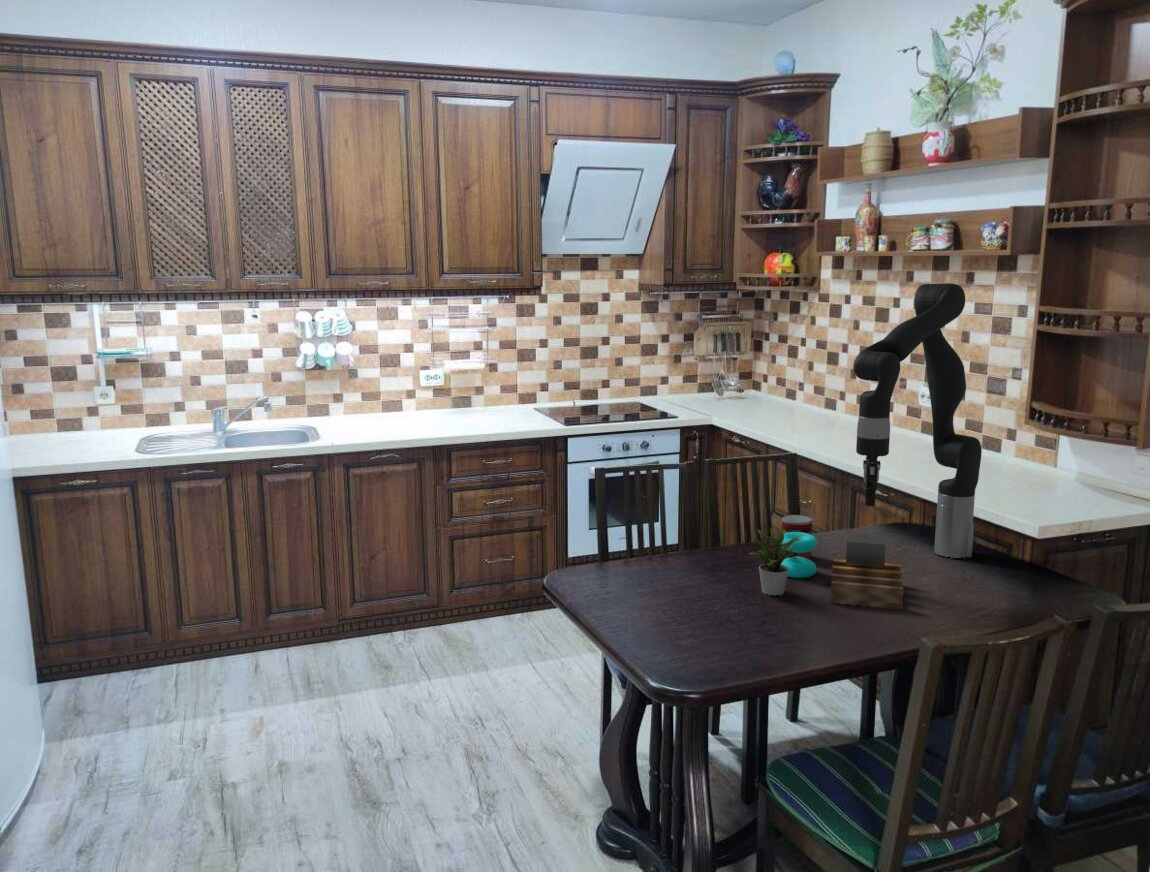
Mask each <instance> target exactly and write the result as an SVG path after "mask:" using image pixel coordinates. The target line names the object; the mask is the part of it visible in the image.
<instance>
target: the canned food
mask: <svg viewBox="0 0 1150 872" xmlns="http://www.w3.org/2000/svg"><path fill="white" fill-rule="evenodd" d="M782 528H783V531H784V530H785V533H788V532H803V533H808V534H811V535H813V531H812V530H813V519H812V517H809V516H806V515H799V514H790V515H788V514H787V515H785V516H783V517H782V518H781V529H782ZM781 550H782V548H780V551H781ZM787 552H789V551H786V552H785V553H784V554H786V553H787ZM792 553H794V554H793V555H790V556H792V557H803V558H807V559H809V560H811V557H812V556H811V555H812V551H810V552H805V553H795V552H792ZM781 555H782V554H781Z"/></svg>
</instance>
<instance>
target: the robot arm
mask: <svg viewBox="0 0 1150 872" xmlns="http://www.w3.org/2000/svg"><path fill="white" fill-rule="evenodd" d="M913 305H914V312H915V316H914V317H911V318H908V319H907V320H905V321H903V322H901V323H900V324H898V325H896V326H895V327H894V328H893V329H892V330H891V331H890V332H889V333H888V334H887V335H886V336H885V337H884V338H883V339H881V340H878V341H877V342H874V343H872V344H871V345H869V346H867V347H865V348H864V349H862V350H861V351H860V352H859V353H858V354H857V355H856V357H855V359H854V361H853V365H852V366H853V368H852V369H853V373H854V375H855V376H856V378H858V379H859V380H862V381H868V382H877V385H876V387H875V389H872V390H866V391H863V392H862V393H860V396H859V408H858V420H857V424H856V425H857V427H856V428H857V429H856V447H855V448H856V449H855V451H856V454H858V455H860V456H865V459H864V460H863V462H862V470H863V481H864V484H865V486H864V489H865V491H864V492H865V493H864V499H865V502H864V503H865V504H864V505H865V506H866V507H875V506H876V492H877V491H878V483H879V481H880V471H881V464H882V463H881V461H880V460H878V459H879V457H886V456H888V455H889V453H890V439H891V421H890V419H891V417H890V416H891V400H892V396H893V394H894V390H895V387H896V384H897V382H898V378H899V377H900V373H901V362H903V361H904V360H906V359H907V358H908V356H909V355H911V354H912V353H913V351H914V350H915V349H916V348H918V346H919V345H920V344H922V348H923V354H924V360H925V369H926V379H927V386H928V392H929V399H930V407H931V416H932V444H933V445H932V446H933V455H934V458H935V461H936V462H937V463H938V464H939V465H940V466H943V467H946V468H952V469H956V471H955V476H954V477H953V478H947V479H943V480H941V481H940V482H938V489H937V504H936V517H935V519H936V520H935V535H934V546H933V547H934V548H933V549H934V551H933V552H934V553H936V554H935V555H937V554H938V555H937V556H939V555H941V556H940V557H942V556H945V557H944V558H946V557H951V558H950V559H953V558H961V557H972V556H973V555H972V554H973V542H974V532H975V529H974V527H975V524H974V511H975V509H974V508H975V499H976V497H975V496H976V489H977V485H978V483H979V476H980V470H981V467H980V466H981V462H982V451H983V450H982V444H981V442H980V440H979V439H978V438H977V437H975V436H971V435H964V434H958V433H956V432H955V427H954V415H955V412H957V408H958V407H959V405H960V404H961V402H962V400H963V398H964V397H965V394H966V392H967V391H966V390H967V380H966V372H965V365H964V363H963V360H962V359H961V358H960V356H959V355H958V353H957V352H956V351H955V349H954V348H953V347H952V345H951V344H950V343H949V342H948V341H947V339H946V338H945V335H944V334H943V332H942V328H943V327H945V326H946V325H948V324H950V323H952V322H953V321H955V320H956V319H957V318H958V317H960V315H961V314H962V313H963V311H964V309H965V305H966V294H965V290H964V289H963V287H962V286H961V285H959V284H957V283H953V282H952V283H951V282H949V283H948V282H947V283H945V282H943V283H924V284H923V283H922V284H921V285H919V286H918V287H917V288H916V290H915V293H914V303H913ZM952 557H953V558H952Z"/></svg>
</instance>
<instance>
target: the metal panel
mask: <svg viewBox="0 0 1150 872" xmlns="http://www.w3.org/2000/svg"><path fill="white" fill-rule="evenodd" d="M886 545H887V544H886V541H884V540H883V541H881V540H870V539H868V540H867V539H854V538H852V539H851V538H847V539H846V554H845V555H846V557H845V560H846V567H856V568H868V569H880V570H884V564H885V562H886Z"/></svg>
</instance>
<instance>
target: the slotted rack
mask: <svg viewBox="0 0 1150 872" xmlns="http://www.w3.org/2000/svg"><path fill="white" fill-rule="evenodd" d="M831 570H832V573H831V582H830V583H831V586H830V604H834V603H839V604H838V605H845V604H851V605H850V606H856V605H861V606H860V607H866V606H869V607H868V608H877V607H879V608H878V609H889V610H898V609H900V611H902V610H903V604H904V603H903V602H904V590H905V589H904V587H903V579H902V571H901V564H898V563H887V562H886V563H885V564H884V570H880V569H868V568H856V567H846V559H839V558H836V559H835V558H833V559H832V569H831Z"/></svg>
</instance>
